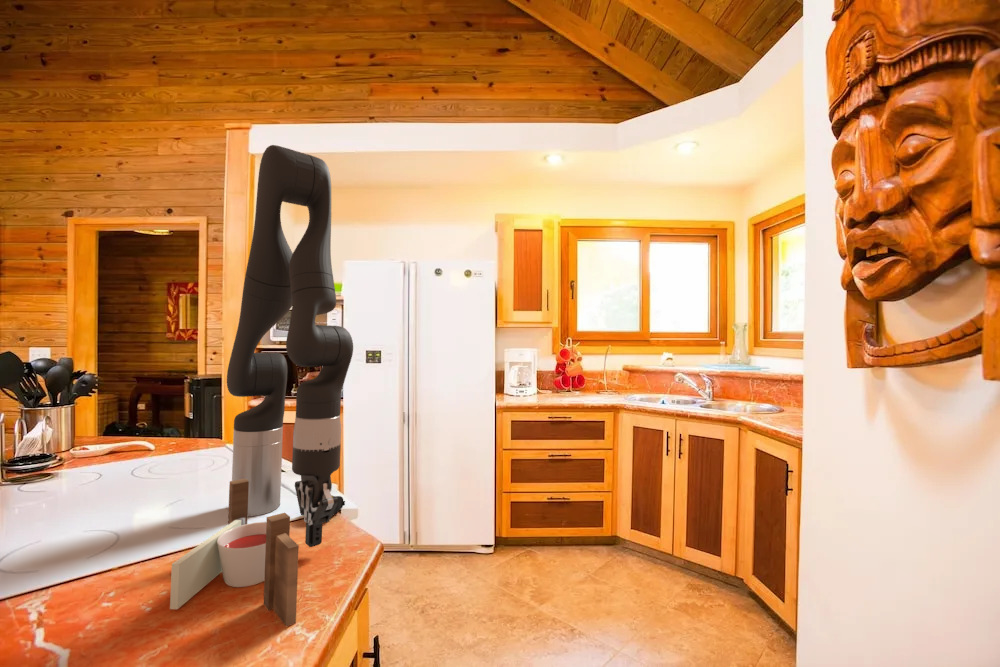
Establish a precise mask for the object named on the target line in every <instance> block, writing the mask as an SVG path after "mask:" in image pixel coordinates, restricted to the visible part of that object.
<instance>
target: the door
mask: <svg viewBox="0 0 1000 667" xmlns="http://www.w3.org/2000/svg"><path fill="white" fill-rule="evenodd" d="M242 525H245V518H239V519H237V520H234V521H233V522H232V523H230V524H229V525H228V524H227V525H226V526H225V527H223V528H221V529H220V530H219V531H217V532H216V533H214V534H212V535H211V536H210V537H208V538H207V539H206V540H204V541H203V542H201V543H200V544H198V545H197V546H195V547H194V548H192V549H191V550H190V551H188V552H187V553H186V554H184V555H182V556H180V557H179V558H178V559H177V560H175V561H174V562H173V563H171V573H170V574H171V575H170V598H169V600H170V601H169V610H179V609H180V608H181V607H183V605H185V603H187V602H188V601H190V600H191V599H192V598H193V597H194V596H196V594H198V592H200V591H201V590H202V589H203V588H204V587H205V586H207V585H208V584H209V583H210V582H211V581H213V580H214V579H215V578H216V577H217V576H218V575H220V574H221V573H222V568H221V562H220V556H219V550H218V544H217V540H218V538H219V537H220V536H221V535H222V534H223V533H225V532H226V531H228V530H230V529H233V528H235V527H238V526H242Z"/></svg>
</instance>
